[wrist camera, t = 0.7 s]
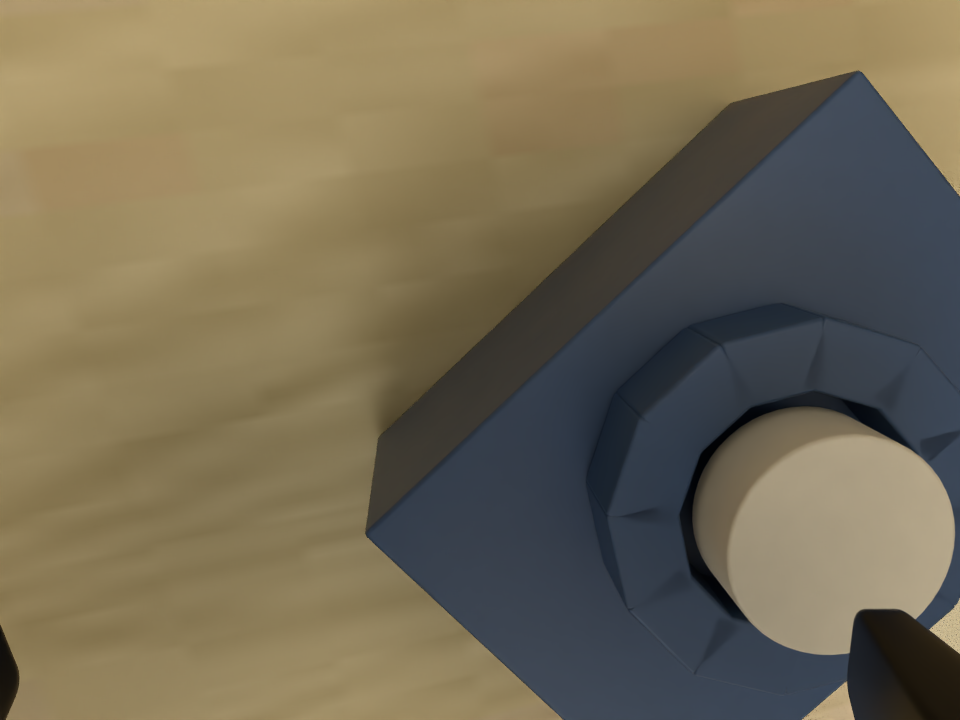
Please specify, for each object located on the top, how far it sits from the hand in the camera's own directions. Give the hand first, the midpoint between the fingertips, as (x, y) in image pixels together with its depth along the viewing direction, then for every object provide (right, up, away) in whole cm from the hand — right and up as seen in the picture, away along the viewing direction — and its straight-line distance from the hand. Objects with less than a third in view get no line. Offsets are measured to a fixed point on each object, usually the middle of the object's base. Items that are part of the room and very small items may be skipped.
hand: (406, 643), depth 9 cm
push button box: (+6, +2, +13) cm, 15 cm away
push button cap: (+6, 0, +6) cm, 9 cm away
